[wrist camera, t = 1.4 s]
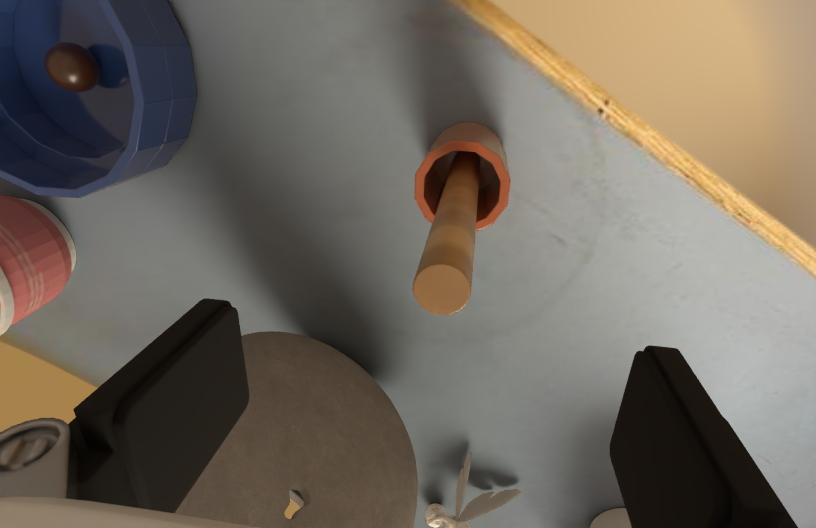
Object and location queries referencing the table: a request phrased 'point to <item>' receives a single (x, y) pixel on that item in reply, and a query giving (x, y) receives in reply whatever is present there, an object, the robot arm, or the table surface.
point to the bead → (72, 67)
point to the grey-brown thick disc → (309, 445)
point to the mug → (612, 519)
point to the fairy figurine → (475, 508)
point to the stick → (451, 241)
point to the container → (31, 258)
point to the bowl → (92, 94)
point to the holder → (490, 179)
